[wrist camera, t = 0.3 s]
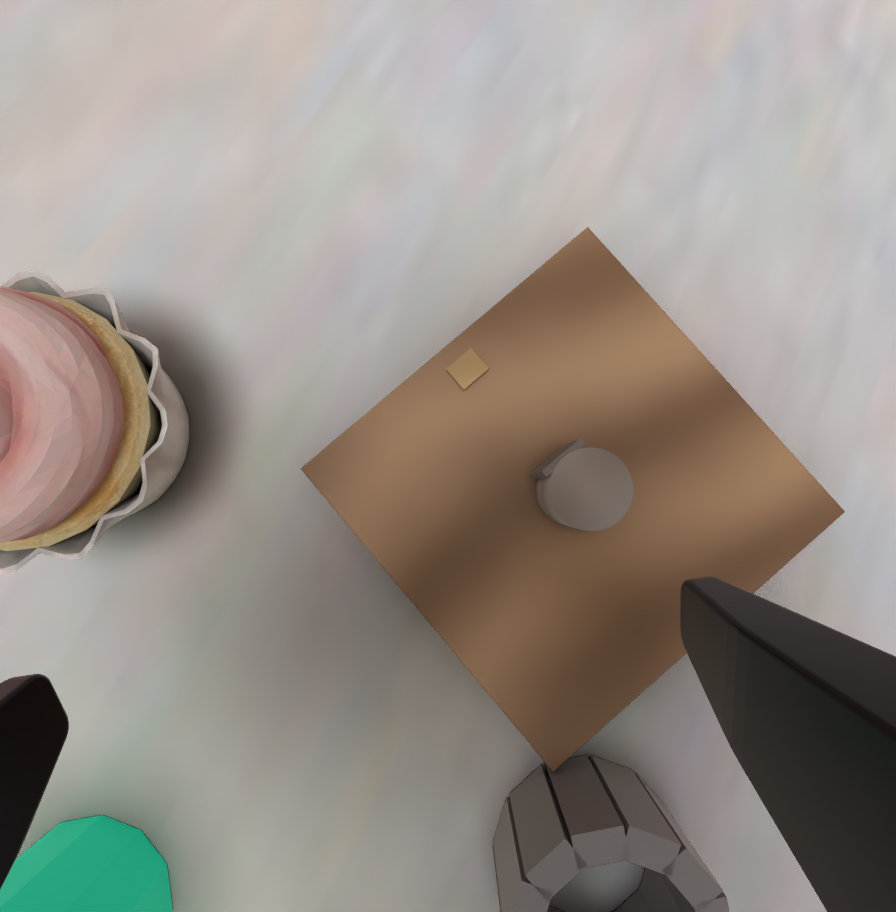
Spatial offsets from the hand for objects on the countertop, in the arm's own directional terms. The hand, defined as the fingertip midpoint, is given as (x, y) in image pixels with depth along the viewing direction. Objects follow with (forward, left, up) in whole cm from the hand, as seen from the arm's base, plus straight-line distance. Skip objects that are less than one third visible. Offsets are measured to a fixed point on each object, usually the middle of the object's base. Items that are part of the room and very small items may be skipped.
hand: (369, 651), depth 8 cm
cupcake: (+11, +6, -14) cm, 19 cm away
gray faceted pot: (-12, +2, -13) cm, 18 cm away
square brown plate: (-2, -6, -13) cm, 15 cm away
